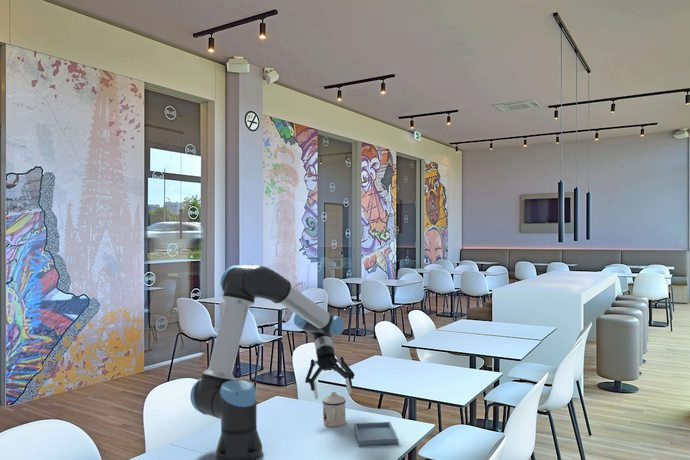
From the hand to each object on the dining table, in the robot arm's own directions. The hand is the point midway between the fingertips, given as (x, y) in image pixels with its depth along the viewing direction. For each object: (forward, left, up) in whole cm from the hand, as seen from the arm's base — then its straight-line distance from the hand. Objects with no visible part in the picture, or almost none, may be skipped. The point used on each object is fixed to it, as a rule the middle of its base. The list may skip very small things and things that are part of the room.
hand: (333, 396), depth 204 cm
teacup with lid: (0, -5, -10) cm, 11 cm away
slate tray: (+14, -19, -9) cm, 25 cm away
